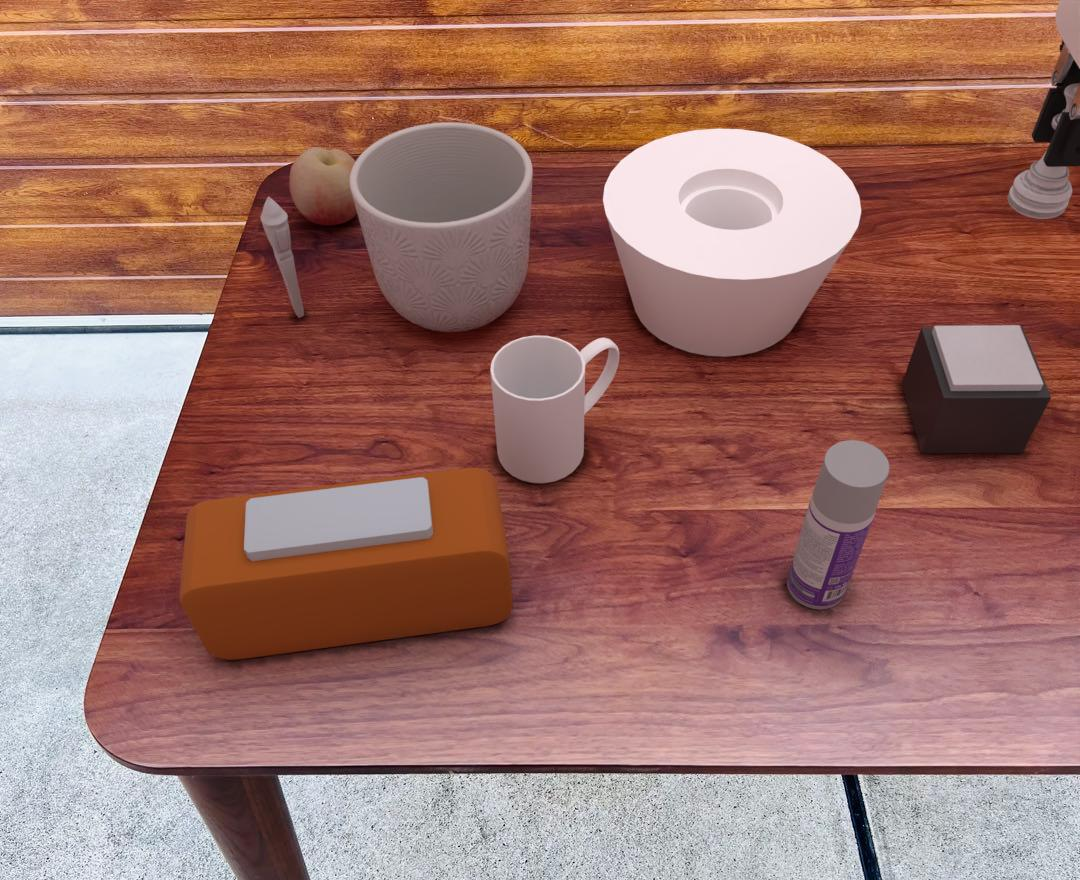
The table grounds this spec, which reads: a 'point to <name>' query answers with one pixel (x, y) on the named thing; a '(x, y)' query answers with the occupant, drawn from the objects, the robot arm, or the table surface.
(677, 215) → the white tapered cylinder
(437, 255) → the planter
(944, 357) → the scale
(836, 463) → the container
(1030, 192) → the chess piece
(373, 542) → the alarm clock
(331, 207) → the fruit
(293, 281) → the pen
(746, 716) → the table surface
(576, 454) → the mug
